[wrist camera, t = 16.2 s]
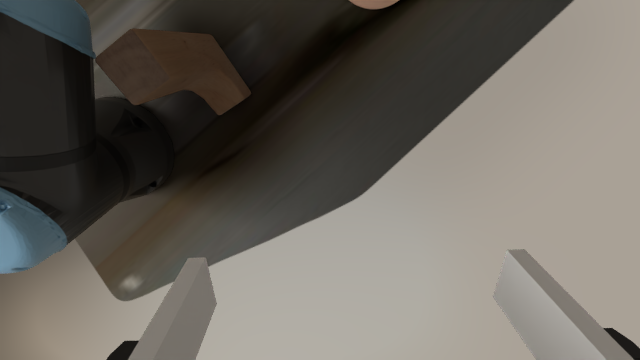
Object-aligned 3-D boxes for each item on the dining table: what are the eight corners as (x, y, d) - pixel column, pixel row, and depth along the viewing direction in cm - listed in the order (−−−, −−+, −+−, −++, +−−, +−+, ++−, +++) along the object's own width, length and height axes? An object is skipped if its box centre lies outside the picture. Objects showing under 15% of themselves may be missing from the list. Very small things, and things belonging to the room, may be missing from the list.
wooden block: (252, 93, 42) (208, 125, 26) (228, 110, 43) (169, 151, 27) (211, 32, 39) (130, 26, 23) (185, 52, 40) (90, 59, 24)
